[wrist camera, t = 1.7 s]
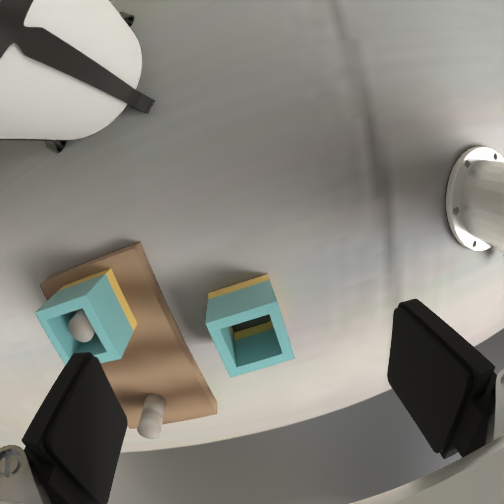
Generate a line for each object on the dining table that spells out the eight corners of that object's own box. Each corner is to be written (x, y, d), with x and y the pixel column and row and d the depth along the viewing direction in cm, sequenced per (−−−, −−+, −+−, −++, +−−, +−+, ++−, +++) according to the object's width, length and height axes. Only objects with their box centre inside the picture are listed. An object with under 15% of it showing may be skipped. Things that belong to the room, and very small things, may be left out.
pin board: (217, 402, 35) (217, 445, 28) (133, 418, 35) (122, 457, 28) (140, 241, 28) (117, 266, 22) (48, 277, 29) (14, 305, 22)
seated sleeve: (137, 323, 29) (121, 358, 23) (90, 336, 29) (68, 370, 23) (111, 267, 27) (86, 294, 21) (63, 285, 27) (34, 312, 21)
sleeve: (283, 324, 32) (294, 357, 26) (228, 341, 32) (230, 377, 27) (267, 273, 30) (277, 301, 25) (208, 292, 30) (205, 323, 25)
